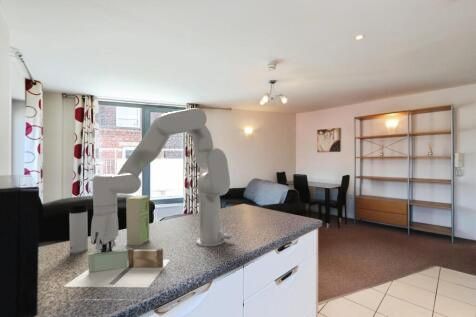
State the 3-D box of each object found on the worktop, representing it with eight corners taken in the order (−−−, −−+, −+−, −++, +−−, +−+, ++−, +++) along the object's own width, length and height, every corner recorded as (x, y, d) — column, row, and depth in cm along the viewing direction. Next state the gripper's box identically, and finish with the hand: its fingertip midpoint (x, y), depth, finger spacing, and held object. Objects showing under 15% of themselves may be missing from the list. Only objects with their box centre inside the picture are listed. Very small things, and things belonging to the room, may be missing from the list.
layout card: (170, 260, 93) (170, 259, 93) (148, 288, 73) (148, 287, 73) (102, 260, 94) (102, 259, 94) (62, 287, 74) (62, 286, 74)
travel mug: (68, 256, 99) (67, 206, 99) (71, 251, 105) (70, 203, 105) (87, 253, 102) (86, 204, 102) (88, 248, 107) (87, 202, 107)
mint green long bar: (127, 265, 88) (127, 248, 88) (127, 267, 86) (126, 249, 86) (89, 270, 84) (89, 252, 84) (88, 272, 83) (88, 254, 83)
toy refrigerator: (141, 245, 109) (140, 198, 109) (126, 245, 111) (125, 198, 111) (151, 240, 117) (150, 195, 117) (137, 239, 119) (136, 195, 119)
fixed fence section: (163, 265, 88) (162, 248, 88) (161, 267, 86) (161, 250, 86) (129, 265, 89) (129, 248, 89) (127, 267, 87) (127, 250, 87)
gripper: (107, 205, 96) (108, 253, 96) (81, 214, 81) (82, 270, 81) (126, 205, 96) (127, 252, 96) (103, 214, 81) (104, 270, 81)
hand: (106, 260), depth 88 cm, fingers closed
